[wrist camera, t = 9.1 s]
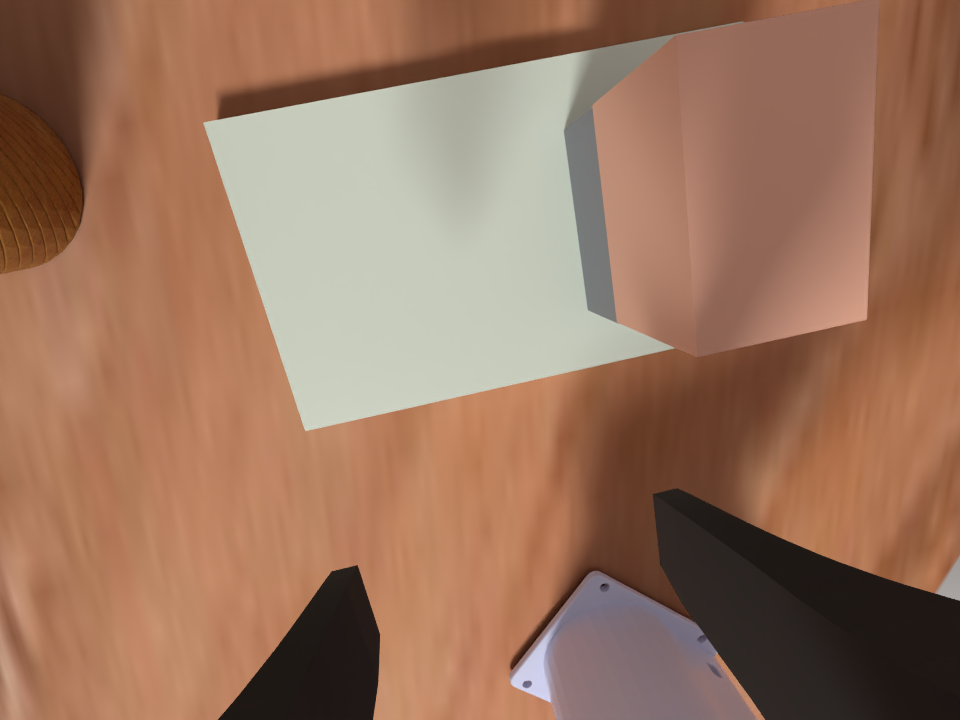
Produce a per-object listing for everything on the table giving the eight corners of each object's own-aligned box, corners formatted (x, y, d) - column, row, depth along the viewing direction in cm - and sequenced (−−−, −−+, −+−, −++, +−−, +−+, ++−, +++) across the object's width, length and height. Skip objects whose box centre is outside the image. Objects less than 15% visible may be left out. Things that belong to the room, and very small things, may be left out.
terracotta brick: (729, 78, 14) (879, -2, 10) (737, 296, 16) (866, 319, 11) (592, 104, 14) (675, 35, 9) (616, 322, 16) (696, 357, 11)
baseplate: (726, 33, 18) (743, 21, 17) (738, 326, 21) (753, 330, 20) (216, 129, 17) (203, 122, 16) (311, 421, 20) (305, 431, 19)
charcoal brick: (676, 108, 17) (729, 80, 14) (689, 288, 19) (738, 297, 16) (563, 130, 17) (592, 106, 14) (587, 310, 19) (617, 323, 16)
